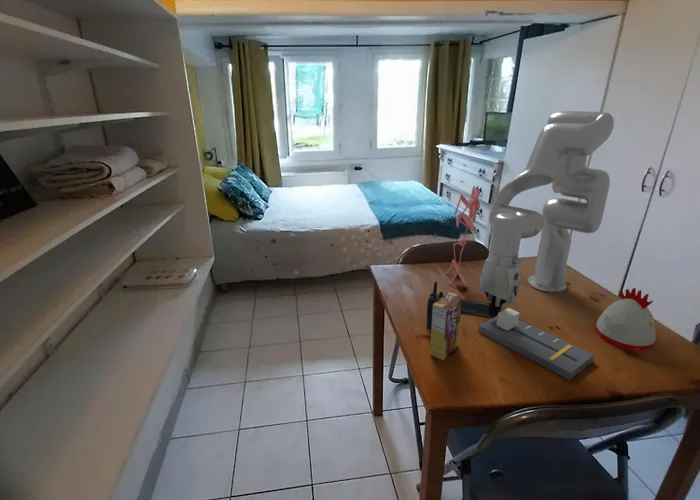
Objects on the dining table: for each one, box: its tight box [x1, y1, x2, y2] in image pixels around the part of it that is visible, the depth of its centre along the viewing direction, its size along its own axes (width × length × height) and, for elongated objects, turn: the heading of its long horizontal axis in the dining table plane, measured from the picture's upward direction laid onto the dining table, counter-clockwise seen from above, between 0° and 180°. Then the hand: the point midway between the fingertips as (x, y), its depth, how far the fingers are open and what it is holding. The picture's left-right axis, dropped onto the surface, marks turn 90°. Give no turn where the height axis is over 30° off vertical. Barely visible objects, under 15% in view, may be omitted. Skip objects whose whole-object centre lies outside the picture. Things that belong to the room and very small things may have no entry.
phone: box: [461, 299, 493, 318], centre depth 125 cm, size 8×1×15 cm
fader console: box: [477, 316, 595, 381], centre depth 106 cm, size 12×26×2 cm, turn 36°
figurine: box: [445, 185, 481, 293], centre depth 138 cm, size 15×26×35 cm, turn 174°
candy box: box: [429, 291, 463, 361], centre depth 102 cm, size 9×4×15 cm, turn 140°
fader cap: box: [496, 307, 521, 331], centre depth 111 cm, size 5×4×4 cm
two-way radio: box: [426, 281, 444, 330], centre depth 113 cm, size 6×4×15 cm
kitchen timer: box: [594, 287, 657, 352], centre depth 108 cm, size 14×14×15 cm
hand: (493, 315), depth 114 cm, fingers closed
